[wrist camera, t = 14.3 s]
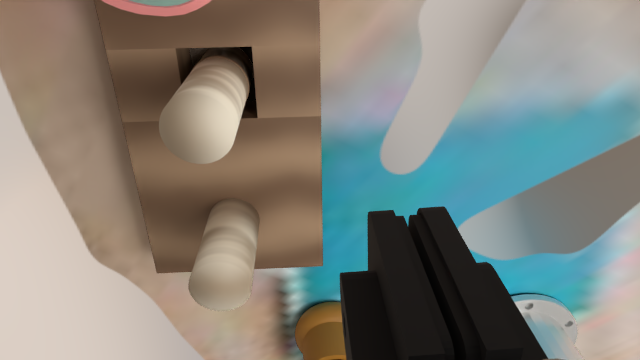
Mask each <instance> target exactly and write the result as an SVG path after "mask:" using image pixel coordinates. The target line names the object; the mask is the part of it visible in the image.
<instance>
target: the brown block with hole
mask: <svg viewBox="0 0 640 360" xmlns="http://www.w3.org/2000/svg"><path fill="white" fill-rule="evenodd" d="M94 2H95V6H96V10H97V15H98V19H99V24H100V28H101V32H102V37H103V41H104V45H105V50H106V54H107V58H108V63H109V67H110V71H111V76H112V80H113V84H114V89H115V93H116V97H117V102H118V106H119V110H120V115H121V119H122V123H123V128H124V132H125V137H126V141H127V145H128V150H129V154H130V158H131V163H132V167H133V171H134V176H135V180H136V184H137V189H138V193H139V197H140V202H141V206H142V210H143V215H144V219H145V223H146V228H147V232H148V237H149V241H150V245H151V250H152V254H153V258H154V263H155V267H156V271H157V273H173V272H192V273H191V277H190V280H189V292H190V294H191V296H192V298H193V299H194V300H195V301H196V302H197V303H198V304H200V305H201V306H203V307H205V308H207V309H210V310H214V311H229V310H233V309H236V308H238V307H240V306H242V305H243V304H244V303H245V302H246V301H247V300H248V299H249V297H250V295H251V290H252V282H253V274H254V269H266V268H290V267H313V266H323V239H322V165H321V91H320V17H319V0H212V1H210V2H209V3H207V4H206V5H204V6H202V7H201V8H199V9H197V10H195V11H192V12H189V13H187V14H184V15H175V16H166V17H165V16H153V15H142V14H137V13H133V12H129V11H125V10H122V9H119V8H117V7H114V6H112V5H109V4H107V3H105V2H103V1H102V0H94ZM251 46H252V55H253V67H254V79H255V91H256V101H246V102H245V106H244V109H243V113H242V116H241V120H240V123H239V126H238V130H237V133H236V137H235V140H234V143H233V146H232V148H231V149H230V151H229V152H228V153H227V154H226V155H225V156H224V157H222V158H221V159H219V160H217V161H215V162H212V163H208V164H195V163H190V162H187V161H184V160H182V159H180V158H178V157H177V156H175V155H174V154H173V153H172V152H171V151H170V150H169V149H168V148H167V147H166V145H165V144H164V142H163V140H162V138H161V136H160V132H159V119H160V115H161V113H162V111H163V109H164V108H165V106H166V105H167V104H168V102H169V101H170V100H171V98H172V97H173V95H174V94H175V93H176V91H177V90H178V89H179V87H180V86H181V85H182V83H183V82H184V81H185V79H186V78H187V77H188V75H189V74H190V72H191V70H192V62H191V55H190V49H189V48H210V47H251Z"/></svg>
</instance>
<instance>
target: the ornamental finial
mask: <svg viewBox="0 0 640 360" xmlns="http://www.w3.org/2000/svg"><path fill="white" fill-rule="evenodd" d="M295 339H296V343H297V346H298V348H299V349H300V351H301V352H302V353H303V358H304V360H346V352H345V343H344V335H343V324H342V312H341V302H324V303H320V304H317V305H315V306H313V307H311V308H310V309H308V310H307V311H306V312H305V313H304V314H303V315H302V316H301V317H300V319H299V321H298V323H297V325H296V329H295Z"/></svg>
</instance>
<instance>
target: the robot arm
mask: <svg viewBox="0 0 640 360" xmlns="http://www.w3.org/2000/svg"><path fill="white" fill-rule="evenodd" d="M340 294H341V312H342V324H343V335H344V343H345V352H346V360H584V358H583V357H582V355H581V354H580V352H579V351H578V349H577V348H576V347H575V342H576V339H577V334H578V329H577V323H576V321H575V318H574V317H573V315H572V314H571V312H570V311H569V309H568V308H567V307H566V306H565V305H564V304H563V303H561V302H559V301H558V300H556V299H554V298H551V297H548V296H544V295H537V294H523V295H516V296H510V294H509V293H508V291H507V289H506V288H505V286H504V284H503V283H502V281H501V279H500V278H499V276H498V274H497V273H496V271H495V269H494V268H493V267H492V265H491V264H489V263H487V262H483V263H476V261H475V260H474V258H473V256H472V254H471V252H470V251H469V249H468V247H467V245H466V244H465V242H464V240H463V239H462V236H461V235H460V233H459V231H458V229H457V227H456V226H455V224H454V222H453V220H452V218H451V217H450V215H449V213H448V211H447V210H446V208H445V207H429V208H419V209H418V211H417V215H410V216H409V225H408V226H407V223H406V221H405V218H404V216H396V215H395V213H394V211H393V210H387V211H373V212H368V271H359V272H345V273H340Z"/></svg>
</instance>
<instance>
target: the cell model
mask: <svg viewBox="0 0 640 360" xmlns="http://www.w3.org/2000/svg"><path fill="white" fill-rule="evenodd" d="M102 1H103V2H105V3H107V4H109V5H112V6H114V7H117V8H119V9H122V10H125V11H129V12H133V13H137V14H142V15H153V16H165V17H166V16H175V15H184V14H187V13H189V12H192V11H195V10H197V9H199V8H201V7H202V6H204V5H206V4H207V3H209V2H210V1H212V0H102Z"/></svg>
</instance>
